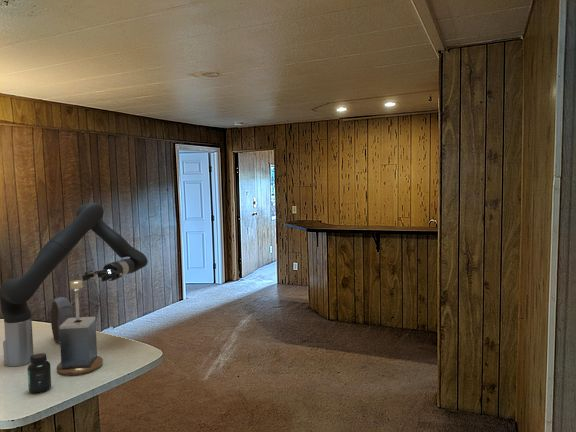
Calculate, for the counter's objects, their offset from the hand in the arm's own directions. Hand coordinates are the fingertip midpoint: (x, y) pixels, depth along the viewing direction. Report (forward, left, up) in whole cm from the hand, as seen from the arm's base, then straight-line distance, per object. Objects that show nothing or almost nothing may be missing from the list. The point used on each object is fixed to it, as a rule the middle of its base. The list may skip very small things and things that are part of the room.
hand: (92, 278), depth 176 cm
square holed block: (-3, -10, -32) cm, 34 cm away
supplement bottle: (-11, -27, -32) cm, 43 cm away
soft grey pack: (-19, +22, -32) cm, 43 cm away
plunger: (-3, -10, -21) cm, 24 cm away
